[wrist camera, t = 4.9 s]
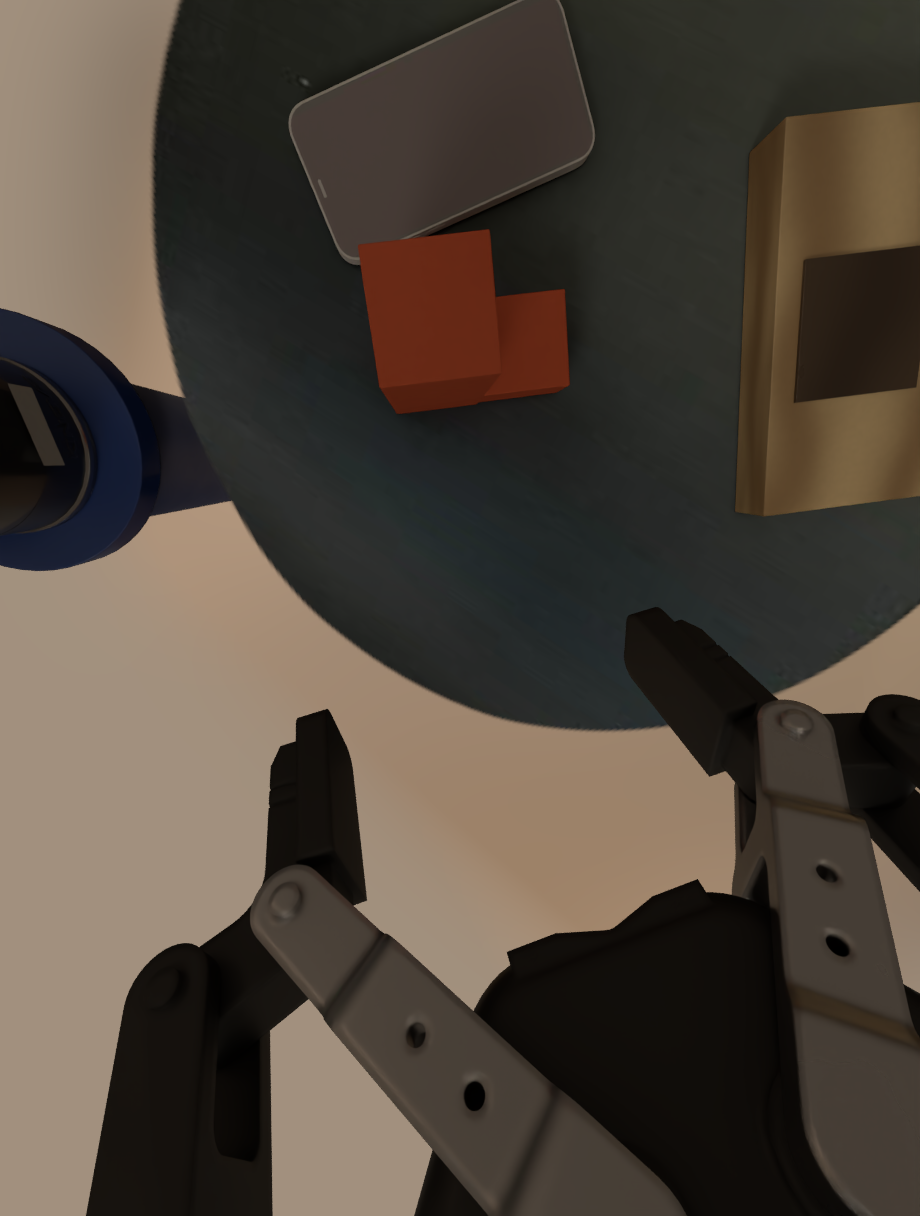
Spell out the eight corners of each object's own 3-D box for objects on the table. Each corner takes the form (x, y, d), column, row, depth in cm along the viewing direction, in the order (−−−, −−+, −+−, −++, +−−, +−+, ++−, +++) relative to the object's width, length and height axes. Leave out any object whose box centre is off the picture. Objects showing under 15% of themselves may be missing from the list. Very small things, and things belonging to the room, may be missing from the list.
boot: (396, 414, 30) (379, 388, 20) (383, 323, 29) (356, 243, 18) (556, 394, 31) (624, 358, 20) (551, 303, 29) (621, 213, 19)
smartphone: (600, 152, 26) (345, 268, 27) (595, 162, 27) (347, 274, 28) (556, -20, 24) (279, 110, 25) (551, -3, 25) (284, 122, 26)
